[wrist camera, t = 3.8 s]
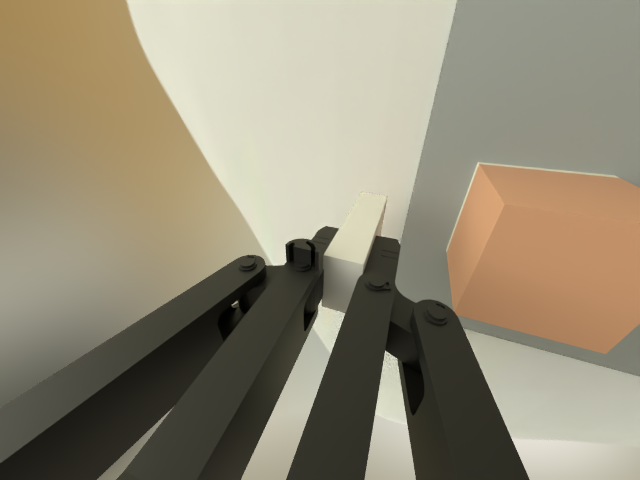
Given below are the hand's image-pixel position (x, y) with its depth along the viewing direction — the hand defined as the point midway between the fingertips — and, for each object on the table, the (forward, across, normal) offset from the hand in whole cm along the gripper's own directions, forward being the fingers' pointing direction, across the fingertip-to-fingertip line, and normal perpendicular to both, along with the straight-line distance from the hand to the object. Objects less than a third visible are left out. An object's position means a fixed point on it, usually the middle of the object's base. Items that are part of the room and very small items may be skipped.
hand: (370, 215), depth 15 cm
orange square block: (+3, +8, 0) cm, 9 cm away
